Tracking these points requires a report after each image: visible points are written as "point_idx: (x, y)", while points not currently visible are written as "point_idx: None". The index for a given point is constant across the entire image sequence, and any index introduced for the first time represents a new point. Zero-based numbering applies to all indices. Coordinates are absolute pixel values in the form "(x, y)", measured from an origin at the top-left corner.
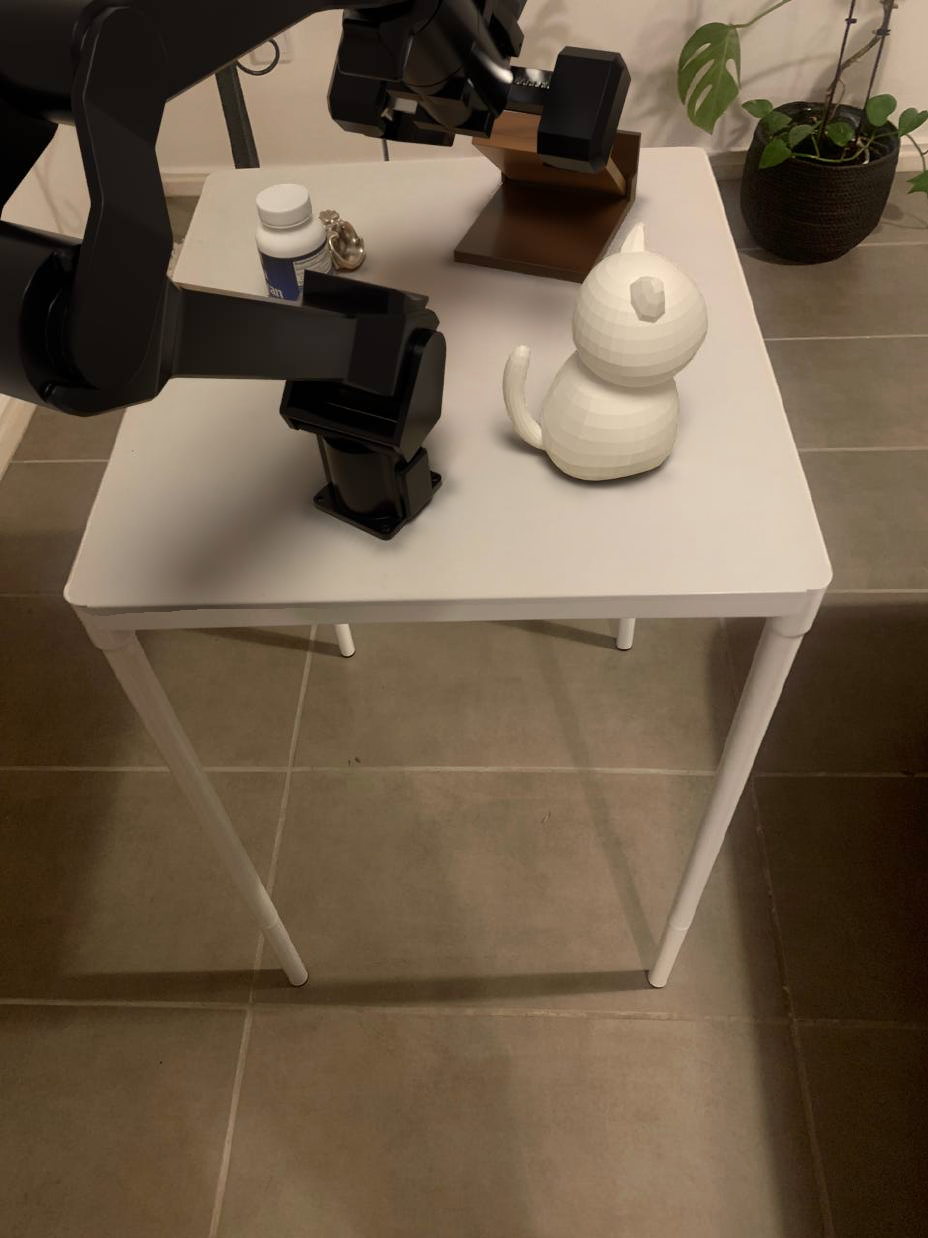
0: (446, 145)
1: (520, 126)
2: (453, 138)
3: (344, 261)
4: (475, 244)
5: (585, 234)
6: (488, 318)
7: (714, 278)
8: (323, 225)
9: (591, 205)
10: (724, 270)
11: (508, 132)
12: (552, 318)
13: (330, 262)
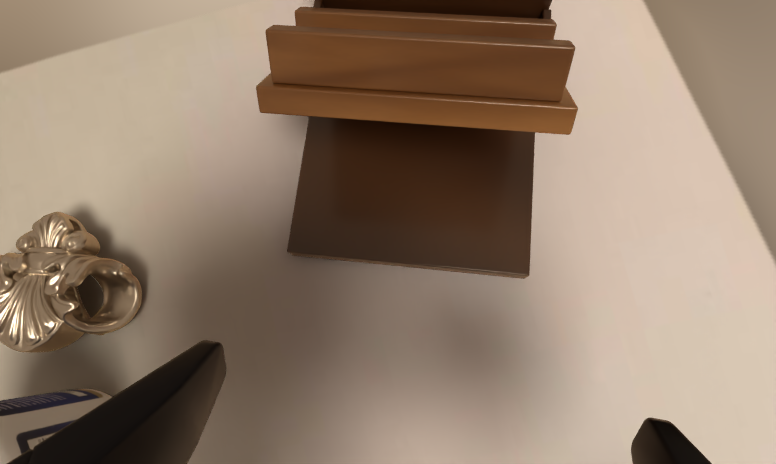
0: (207, 419)
1: (362, 66)
2: (221, 365)
3: (110, 329)
4: (319, 228)
5: (492, 164)
6: (387, 405)
7: (720, 220)
8: (2, 462)
9: None
10: (729, 195)
11: (337, 81)
12: (492, 384)
13: None
